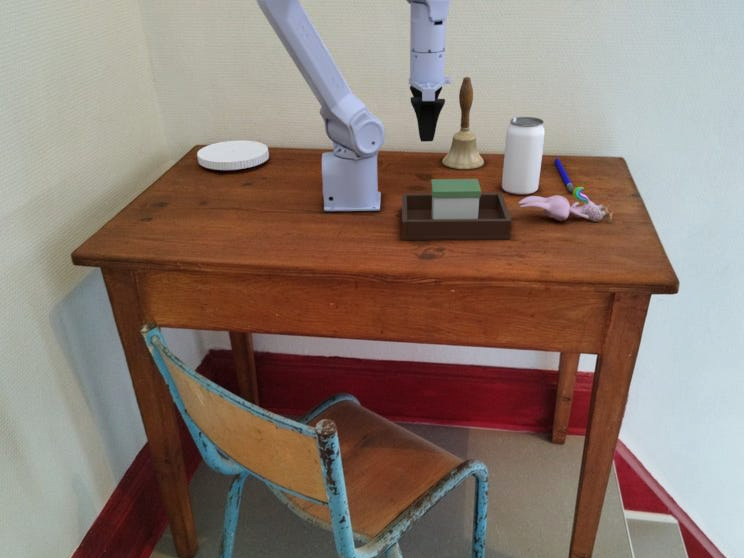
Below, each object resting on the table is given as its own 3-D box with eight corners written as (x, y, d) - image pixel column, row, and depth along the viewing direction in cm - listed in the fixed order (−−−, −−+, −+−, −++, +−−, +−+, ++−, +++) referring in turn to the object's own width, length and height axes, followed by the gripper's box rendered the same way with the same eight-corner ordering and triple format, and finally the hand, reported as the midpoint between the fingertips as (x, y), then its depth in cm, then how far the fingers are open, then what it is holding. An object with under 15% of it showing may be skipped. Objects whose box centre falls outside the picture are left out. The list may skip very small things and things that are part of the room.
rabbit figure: (599, 219, 111) (512, 207, 109) (611, 184, 107) (522, 172, 106) (610, 234, 106) (520, 222, 104) (623, 199, 102) (530, 186, 101)
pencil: (573, 193, 116) (574, 187, 116) (568, 193, 117) (569, 187, 116) (558, 161, 130) (558, 156, 130) (553, 161, 130) (554, 156, 130)
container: (431, 228, 104) (432, 191, 101) (430, 214, 108) (431, 179, 105) (478, 227, 104) (481, 191, 100) (475, 214, 108) (477, 178, 105)
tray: (402, 240, 102) (402, 221, 100) (401, 211, 111) (401, 193, 110) (509, 239, 101) (511, 220, 100) (500, 210, 111) (501, 192, 109)
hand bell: (486, 169, 128) (492, 82, 119) (443, 169, 128) (446, 82, 119) (481, 155, 135) (487, 72, 125) (440, 156, 135) (443, 72, 126)
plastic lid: (245, 148, 141) (243, 136, 140) (283, 163, 133) (281, 150, 131) (186, 163, 134) (184, 151, 132) (222, 180, 125) (220, 167, 124)
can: (537, 196, 116) (546, 127, 109) (500, 194, 117) (506, 125, 110) (538, 184, 121) (546, 116, 114) (502, 182, 122) (508, 115, 115)
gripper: (455, 58, 102) (451, 146, 109) (449, 41, 114) (446, 122, 121) (409, 58, 102) (409, 147, 110) (408, 42, 114) (408, 122, 121)
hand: (426, 134), depth 115 cm, fingers open, 7 cm apart
